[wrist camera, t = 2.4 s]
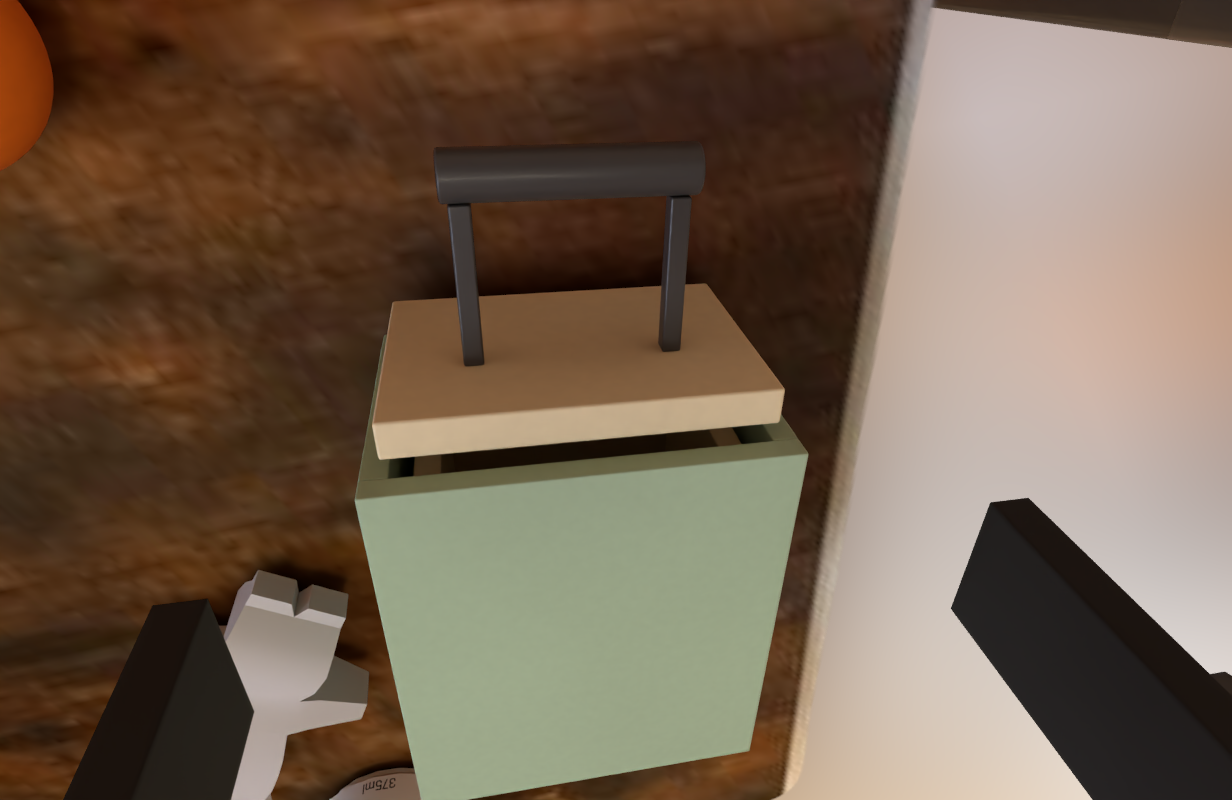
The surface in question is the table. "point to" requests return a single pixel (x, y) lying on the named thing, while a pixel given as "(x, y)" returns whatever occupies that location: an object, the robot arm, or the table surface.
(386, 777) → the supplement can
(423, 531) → the cabinet
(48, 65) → the ball
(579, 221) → the table surface
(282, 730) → the bunny figurine
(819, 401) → the table surface
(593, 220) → the table surface
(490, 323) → the drawer
